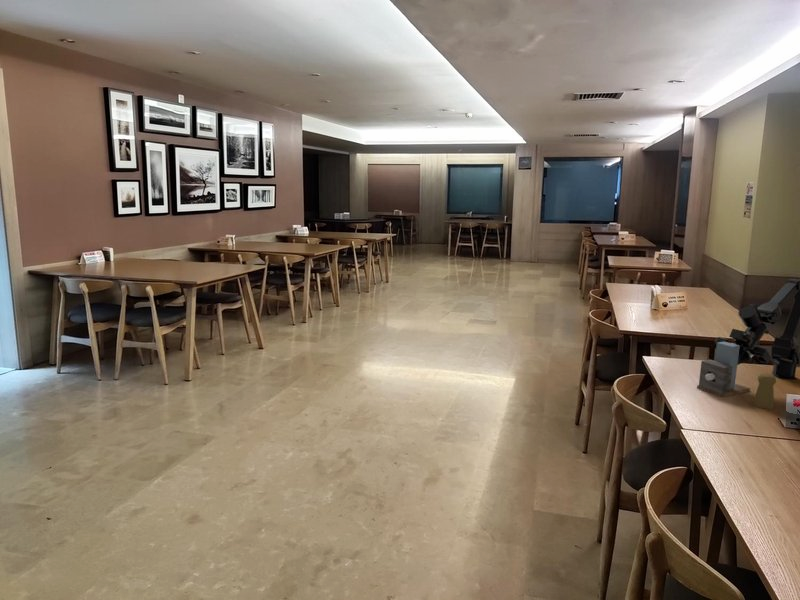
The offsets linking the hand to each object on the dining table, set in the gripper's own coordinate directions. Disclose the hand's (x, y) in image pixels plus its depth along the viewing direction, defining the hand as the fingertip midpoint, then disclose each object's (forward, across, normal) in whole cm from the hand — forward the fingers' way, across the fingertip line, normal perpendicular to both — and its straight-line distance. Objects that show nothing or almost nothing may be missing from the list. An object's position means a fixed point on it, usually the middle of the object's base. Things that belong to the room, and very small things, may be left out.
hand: (729, 367), depth 210 cm
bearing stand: (+7, 0, +5) cm, 9 cm away
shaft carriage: (+9, 0, +1) cm, 9 cm away
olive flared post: (+9, +16, +3) cm, 19 cm away
